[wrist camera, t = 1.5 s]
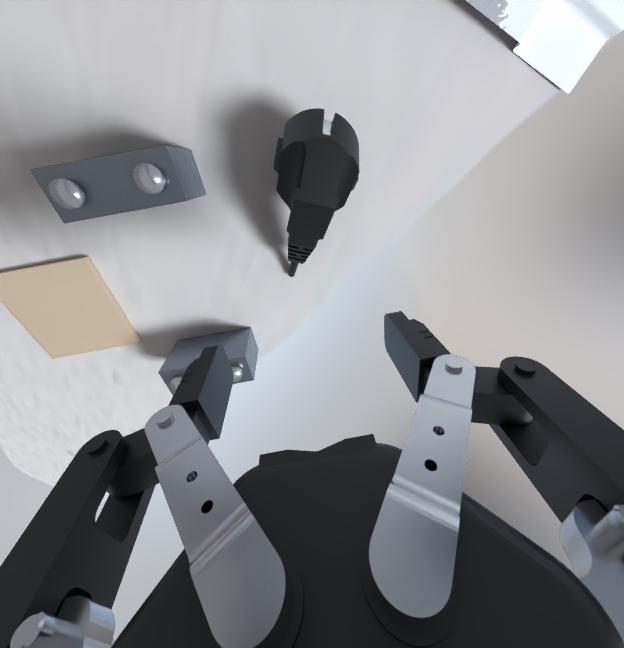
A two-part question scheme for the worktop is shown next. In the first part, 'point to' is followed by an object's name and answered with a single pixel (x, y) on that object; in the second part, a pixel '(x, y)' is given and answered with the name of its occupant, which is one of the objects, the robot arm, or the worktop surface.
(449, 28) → the worktop surface
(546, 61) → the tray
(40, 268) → the mat
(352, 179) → the power plug
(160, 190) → the metal blocks
